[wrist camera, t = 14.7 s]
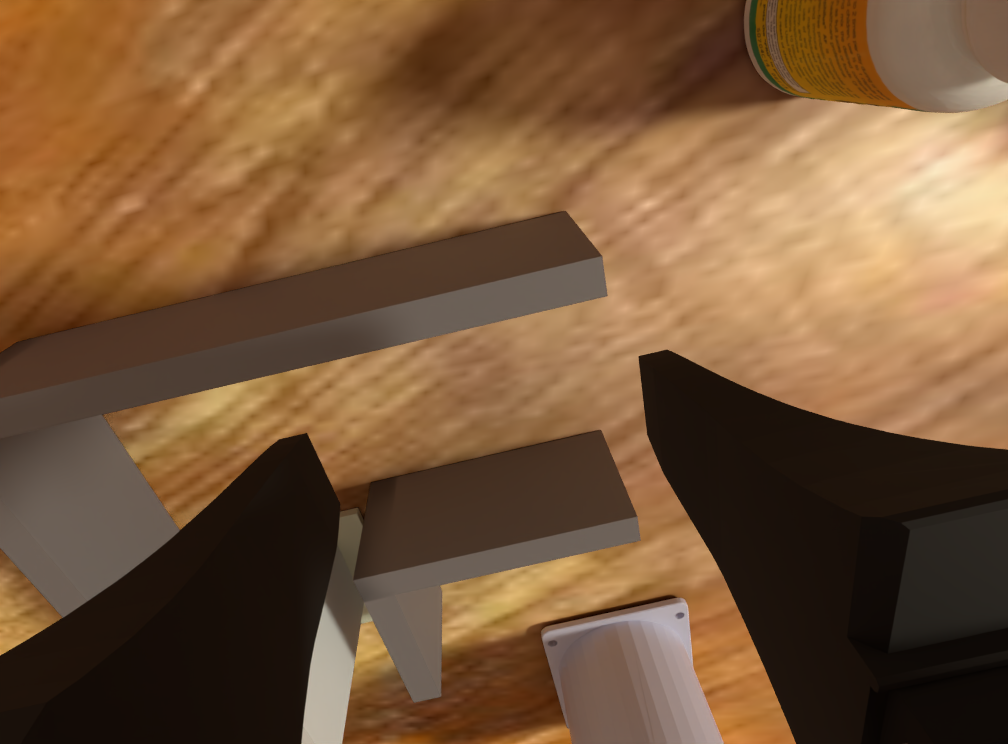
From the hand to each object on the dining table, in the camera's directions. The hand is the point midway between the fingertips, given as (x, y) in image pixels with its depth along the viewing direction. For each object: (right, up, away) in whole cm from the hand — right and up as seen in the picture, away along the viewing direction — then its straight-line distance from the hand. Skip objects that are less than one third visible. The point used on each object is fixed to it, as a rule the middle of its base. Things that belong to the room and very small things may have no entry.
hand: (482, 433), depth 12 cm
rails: (-5, -2, +13) cm, 14 cm away
